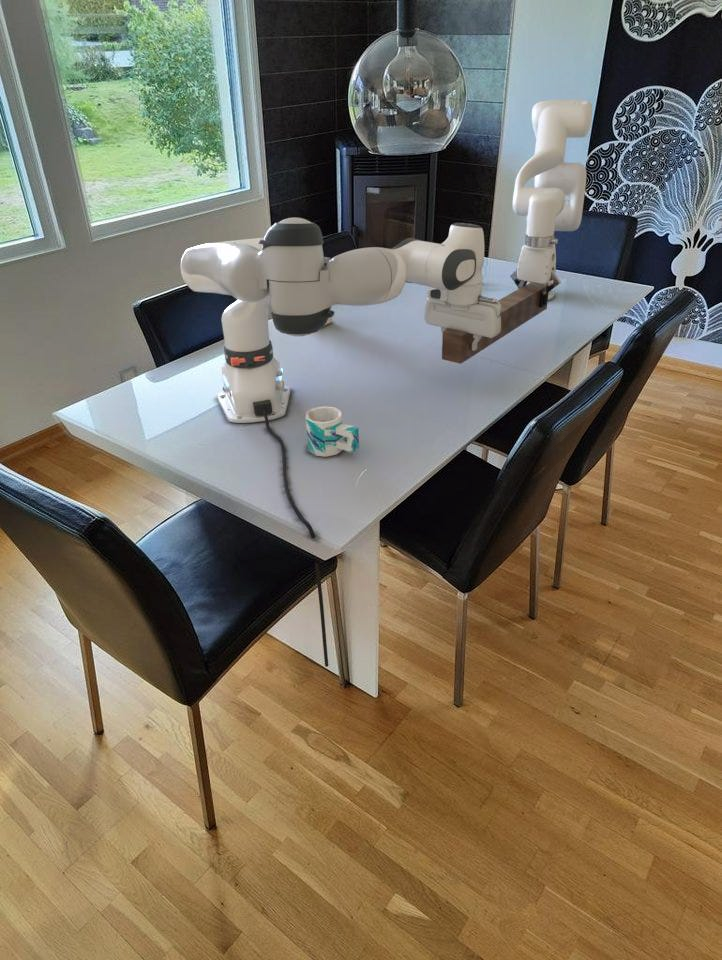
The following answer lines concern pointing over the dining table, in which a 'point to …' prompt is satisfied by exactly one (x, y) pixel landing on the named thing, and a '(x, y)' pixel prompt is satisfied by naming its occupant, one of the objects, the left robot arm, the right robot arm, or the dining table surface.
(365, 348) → the dining table surface
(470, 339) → the bar
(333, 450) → the mug
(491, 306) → the left robot arm
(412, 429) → the dining table surface
